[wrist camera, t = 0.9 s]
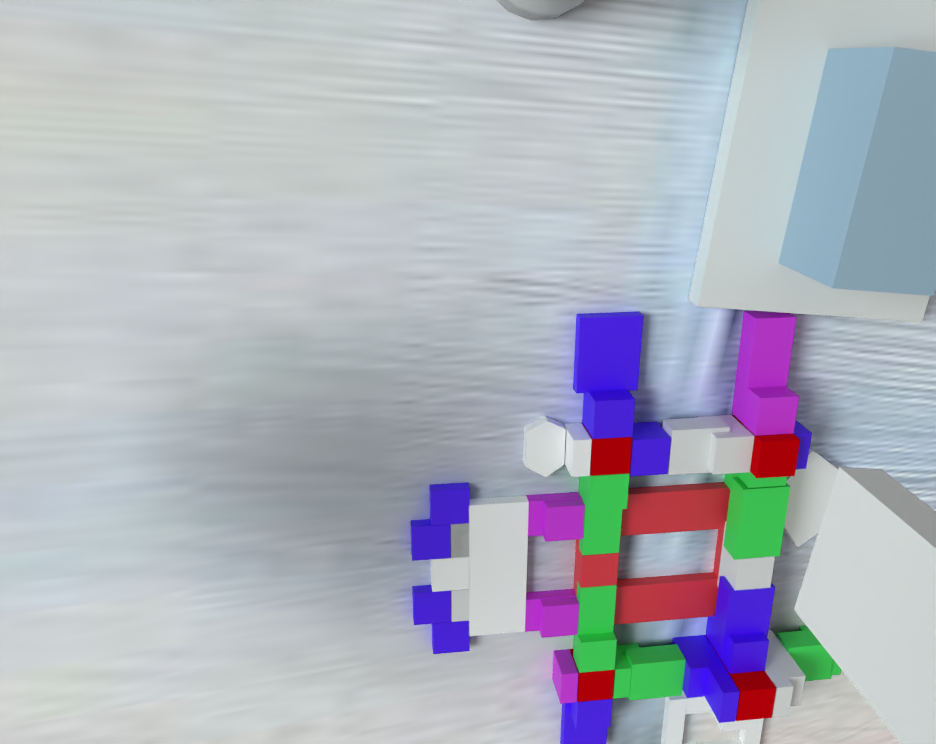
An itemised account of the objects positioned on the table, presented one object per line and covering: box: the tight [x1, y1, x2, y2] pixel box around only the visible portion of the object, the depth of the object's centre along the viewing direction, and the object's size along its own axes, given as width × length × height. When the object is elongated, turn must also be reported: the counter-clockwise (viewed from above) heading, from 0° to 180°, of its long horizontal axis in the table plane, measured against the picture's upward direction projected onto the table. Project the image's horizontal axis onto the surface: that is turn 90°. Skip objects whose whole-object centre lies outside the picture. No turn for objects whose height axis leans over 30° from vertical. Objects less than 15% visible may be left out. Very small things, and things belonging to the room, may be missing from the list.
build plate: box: [688, 0, 936, 322], centre depth 31 cm, size 18×10×2 cm, turn 174°
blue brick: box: [778, 47, 936, 296], centre depth 30 cm, size 8×4×4 cm, turn 174°
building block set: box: [411, 311, 841, 744], centre depth 37 cm, size 25×20×4 cm
